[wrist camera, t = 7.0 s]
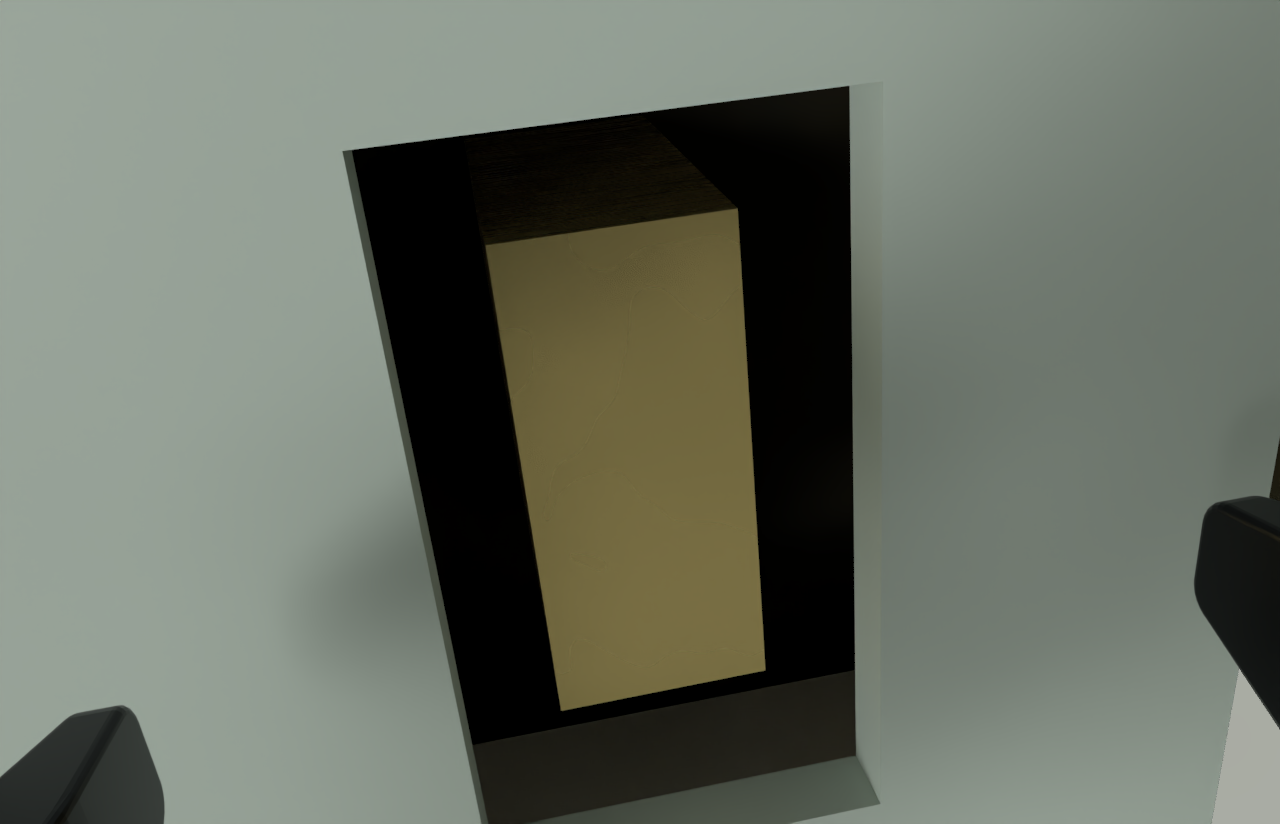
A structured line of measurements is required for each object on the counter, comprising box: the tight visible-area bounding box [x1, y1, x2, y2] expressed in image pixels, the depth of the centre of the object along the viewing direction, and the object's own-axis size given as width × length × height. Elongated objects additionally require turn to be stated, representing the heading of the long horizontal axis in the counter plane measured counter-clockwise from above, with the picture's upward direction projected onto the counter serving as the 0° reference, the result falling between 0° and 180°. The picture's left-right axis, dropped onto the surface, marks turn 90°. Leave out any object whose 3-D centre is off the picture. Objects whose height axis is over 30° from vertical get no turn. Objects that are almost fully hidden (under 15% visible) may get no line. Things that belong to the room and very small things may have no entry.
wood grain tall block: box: [464, 115, 765, 711], centre depth 14 cm, size 6×2×5 cm, turn 6°
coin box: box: [0, 0, 1280, 824], centre depth 13 cm, size 16×13×6 cm
